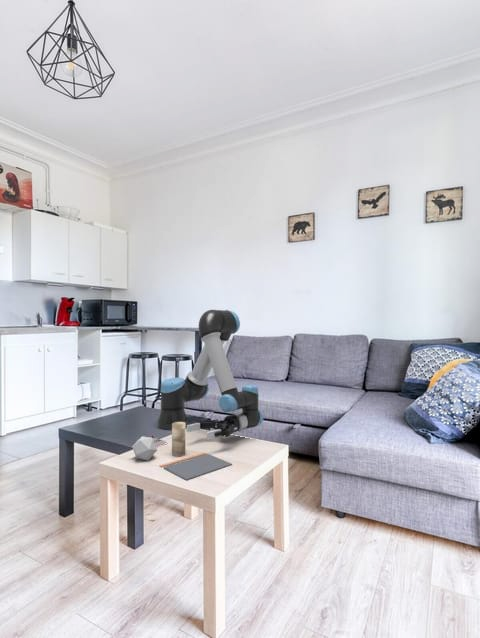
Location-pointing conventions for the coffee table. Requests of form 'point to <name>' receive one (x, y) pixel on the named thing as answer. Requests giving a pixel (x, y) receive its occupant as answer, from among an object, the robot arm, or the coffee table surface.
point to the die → (144, 448)
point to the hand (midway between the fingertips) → (196, 432)
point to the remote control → (158, 441)
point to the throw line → (182, 459)
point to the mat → (197, 466)
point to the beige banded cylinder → (178, 439)
